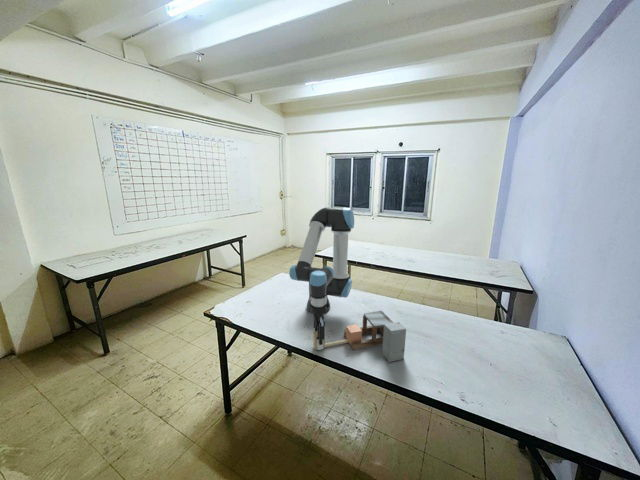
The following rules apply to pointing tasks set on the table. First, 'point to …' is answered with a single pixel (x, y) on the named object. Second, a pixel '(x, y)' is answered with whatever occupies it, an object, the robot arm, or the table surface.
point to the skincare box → (394, 341)
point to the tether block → (351, 336)
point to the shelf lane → (372, 329)
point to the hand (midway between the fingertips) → (319, 346)
